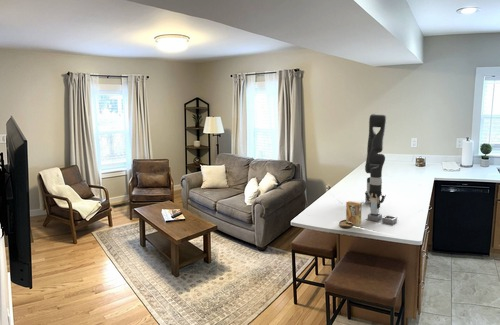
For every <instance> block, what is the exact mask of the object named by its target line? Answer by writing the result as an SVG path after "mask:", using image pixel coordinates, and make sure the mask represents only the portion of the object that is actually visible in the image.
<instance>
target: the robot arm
mask: <svg viewBox="0 0 500 325" xmlns="http://www.w3.org/2000/svg"><path fill="white" fill-rule="evenodd" d="M386 125H387V116H386V114H385V113H383V114H382V113H371V114H370V116H369V121H368V128H369V129H368V137H367V138H368V139H367V150H366V151H367V152H366V159H365V167H364V170H365V173H366V174H370V177H367V179H366V191H365V192H364V195H365V201H364V202H365V204H367V205H369V207H370V208H371V198H376V199H377V209H379V210H380V209H381V204H382V203H384V201H385V199H386V194H384V193H382V188H383V187H382V186H383V185H382V183H383V180H382V177H383V176H382V174H383V173H382V172H383V166H384V164H385V161H386V157H385V154H383V153H382V151H383V149H384V146H383V145H384V138H385V132H386ZM375 128H380V129H379V130H378V132H376V130H375Z"/></svg>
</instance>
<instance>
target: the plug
mask: <svg viewBox="0 0 500 325" xmlns="http://www.w3.org/2000/svg"><path fill="white" fill-rule="evenodd" d="M379 212H380V208H379V209H377V199H376V198H371V207H370V213H371V214H378V213H379ZM379 214H380V213H379Z"/></svg>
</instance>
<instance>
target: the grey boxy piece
mask: <svg viewBox="0 0 500 325" xmlns="http://www.w3.org/2000/svg"><path fill="white" fill-rule="evenodd" d="M365 221H369V222H373V223H378V224H382V225H388V226H394V225H395V224H396V223H399V220H398V217H397V216H393V215H388V214H386V215H384V216H383V214H382V213H378V214H371V212H370V213H368V214H367V218H366V219H365Z"/></svg>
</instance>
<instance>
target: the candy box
mask: <svg viewBox="0 0 500 325" xmlns="http://www.w3.org/2000/svg"><path fill="white" fill-rule="evenodd" d="M345 203H346V204H345V206H346V209H345V211H346V212H345V213H346V218H345V222H346V221H350V222H352V223H353V224H352V225H354V226H355V227H358V228H359V226H361V225H362V203H361V202H357V201H352V200H348V201H346V202H345Z"/></svg>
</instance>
